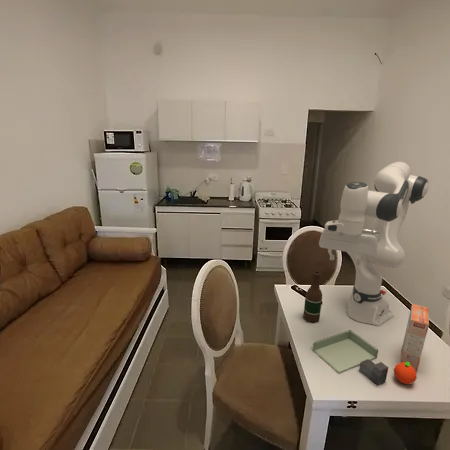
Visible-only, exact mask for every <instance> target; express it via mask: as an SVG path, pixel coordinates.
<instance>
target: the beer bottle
mask: <svg viewBox="0 0 450 450" xmlns="http://www.w3.org/2000/svg"><path fill="white" fill-rule="evenodd" d="M321 276H322V275H321V272H320V271H318V270H315V271H313V272H312V279H311V285H310V286H309V288H308V289H307V291H306V293H305V297H304V307H303V320H305V322H307V323H312V324H316V323H319V321H320V317H321V310H322V302H323V293H322V292H323V291H322V290H321V288H320V281H321V280H320V279H321Z"/></svg>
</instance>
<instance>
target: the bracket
mask: <svg viewBox="0 0 450 450" xmlns="http://www.w3.org/2000/svg"><path fill="white" fill-rule="evenodd" d="M358 371H359V373H360V374H362V375H363V376H364V377H366V378H367V379H368V380H369V381H371V382H372V383H373V384H374V385H376V387H380V386H381V385H383V384H385V383H386V382H387V376H388V372H389V366H388V365H386V364H385V363H383V362H382V361H379V362H377V363H374V362H373V360H371V361H370V360H369V359H367V360H364V361H362V362H360V365H359V369H358Z"/></svg>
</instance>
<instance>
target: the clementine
mask: <svg viewBox="0 0 450 450" xmlns="http://www.w3.org/2000/svg"><path fill="white" fill-rule="evenodd" d="M393 373H394V376H395V378H396V379H397V381H399V383H401V384H405V385H410V384H411V385H412V384H413V383H414V382H415V381H416V380H417V373H416V371H415V369H414V368H413V367H412V366H411V365H410V362H406V363H400V362H399V363H397V364H396V365H395V366H394V368H393Z"/></svg>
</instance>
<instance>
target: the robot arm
mask: <svg viewBox="0 0 450 450" xmlns="http://www.w3.org/2000/svg"><path fill="white" fill-rule="evenodd" d="M373 181H374V190H369V184H367V183H366V182H362V181H351V182H348V183H346V184H345V186H344V188H343V191H342V194H341V199H340V207H339V208H340V213H339V216H338V219H336V220H329V221H326V223H325V224H324V229H323V230H322V232H321V234H320V239H319V241H318V246H319V248H322V249H327V252H328V255H329V261H335V256H336V255H335V254H333V253H332V251H333V250H334V251H340V252H345V253H347V254H348V256H350V258H351V260H352V263H353V264H354V267H355V282H354V285H353V288H352V293H351V295H350V298H349V302H348V304H346V314H347V315H348V317H350V319H352V320H354V321H357V322H358V323H361V324H367V325H373V326H377V327H379V326H381V325H383V324H384V323H386V322H388V320H390V319H392V318H393V317H394V313H393V312H392V311H391V310H390V304H389V303H388V301H387V300H386V299H384V298H383V297H382V296H385V295H386V293H387V292H386V290H384V289H381V288H382V282H383V276H382V275H383V274H382V273H381V272H380V271H379V270H378V269H377V268H376V267H375V265H378V266H380V267H384V268H388V269H389V268H390V269H391V268H392V269H398V268H399V267H401V266H402V265H403V264H404V262H405V260H406V252H405V250H404V248H403V247H402V246H401V244H400V242H399V239H398V238H399V232H400V229H401V227H402V225H403V223H404V221H405V219H406V216H407V214H408V210H409V207H410V204H411V205H412V204H415V203H416V202H419V201H421V200H422V199H423V198H424V197H425V196H426V195H427V193H428V191H429V181H428V179H427V178H425V177H423V176H420V175H419V176H417V175H413V174H412V170H411V167H410V165H408V163H406V162H404V161H395V162H392V163H389V164H387V165H386V166H385V167H382V169H381V170H379V171H378V172H377V173H376V175H375V176H374V180H373ZM365 217H368V218H372V219H373V218H374V221H373V223H372V229H373V230H371V229H367V228H364V227H365V221H366V219H365ZM374 264H375V265H374Z"/></svg>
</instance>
